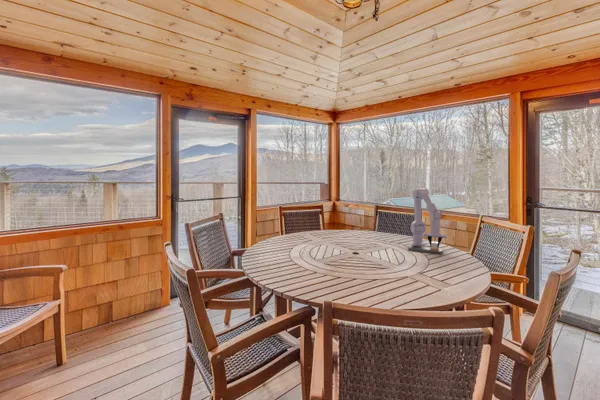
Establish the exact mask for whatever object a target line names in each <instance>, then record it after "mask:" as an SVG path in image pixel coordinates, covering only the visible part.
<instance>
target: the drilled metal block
mask: <svg viewBox="0 0 600 400" xmlns="http://www.w3.org/2000/svg"><path fill="white" fill-rule="evenodd" d="M437 247H438V241H432V242H431V250H438V248H437Z"/></svg>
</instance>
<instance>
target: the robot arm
mask: <svg viewBox="0 0 600 400" xmlns="http://www.w3.org/2000/svg"><path fill="white" fill-rule="evenodd" d="M429 193H430V192H429V189H428V188H417V187H415V188H414V189H413V190H412V199H413V202H414V203H413V204H414V205H413V206H414V208H413V209H414V210H413V212H414V215H413V216H414V221H412V222H411V223H410V231H411V233H412V242H411V244H410V245H414V246H423V245H424V244H425V243H424V241H423V237H427V240H428V243H429V247H431V242H433V238H437V242H438V247H437V248H440V244H441V241H442V240H443V239H447V235H446V234H440V231H441V229H440V227H441V220H442V219H443V218H442V217H443V214H442V211H440V210H439V209H438V208H437V206H436V205H435V203H433V202H432V200H431V197H430V196H429V195H430V194H429ZM422 201H423V202H425V204H426V209H427V211H428V212H429V215H428V216H429V220H430V233H426V230H427V229H426V225H425V224H426V223H425V222H424V221H423V219H422Z"/></svg>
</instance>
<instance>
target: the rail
mask: <svg viewBox="0 0 600 400" xmlns="http://www.w3.org/2000/svg"><path fill="white" fill-rule="evenodd" d="M443 249H444V248H440V247H439V248H438V250H431V247H430V246H423V245H422V246H419V245H411V244H410V245H409V246H408V248H407V250H408V251H411V252H419V253H420V252H421V253H427V254H435V255H436V254H437V255H442V254H443V252H444V250H443Z"/></svg>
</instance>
